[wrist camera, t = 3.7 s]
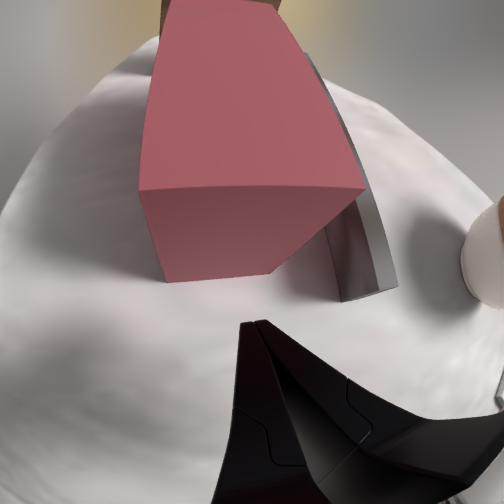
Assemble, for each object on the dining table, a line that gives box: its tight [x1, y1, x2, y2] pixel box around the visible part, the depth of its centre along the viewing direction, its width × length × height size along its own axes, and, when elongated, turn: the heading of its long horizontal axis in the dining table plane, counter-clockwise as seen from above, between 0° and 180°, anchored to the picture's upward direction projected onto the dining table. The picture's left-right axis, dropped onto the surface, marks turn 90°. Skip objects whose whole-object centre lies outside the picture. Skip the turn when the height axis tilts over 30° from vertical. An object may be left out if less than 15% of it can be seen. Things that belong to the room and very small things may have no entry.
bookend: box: [159, 0, 398, 303], centre depth 13 cm, size 23×13×12 cm, turn 9°
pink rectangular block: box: [138, 0, 366, 283], centre depth 13 cm, size 14×6×10 cm, turn 9°
